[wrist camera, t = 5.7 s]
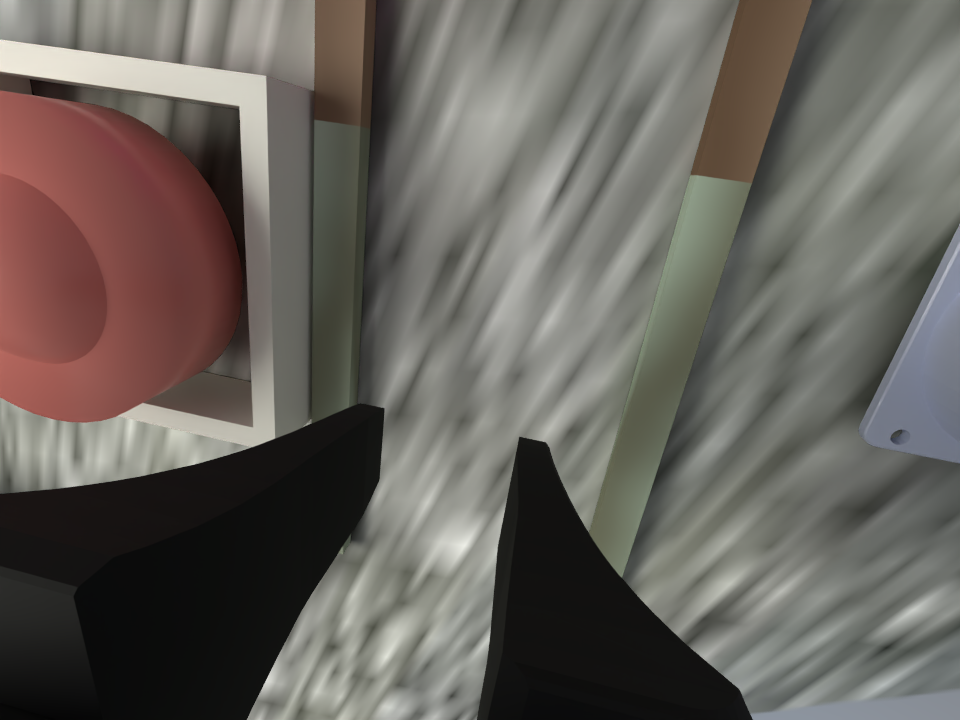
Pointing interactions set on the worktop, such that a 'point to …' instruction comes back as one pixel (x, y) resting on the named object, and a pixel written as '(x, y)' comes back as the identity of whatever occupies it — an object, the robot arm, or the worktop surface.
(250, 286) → the white square frame
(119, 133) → the dome
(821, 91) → the worktop surface
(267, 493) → the robot arm
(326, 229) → the game lane
